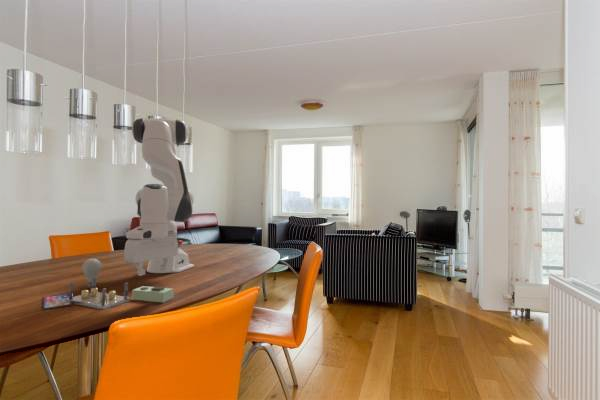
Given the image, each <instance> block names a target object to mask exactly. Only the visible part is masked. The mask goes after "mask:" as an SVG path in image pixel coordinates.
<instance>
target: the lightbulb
mask: <svg viewBox="0 0 600 400" xmlns="http://www.w3.org/2000/svg"><path fill="white" fill-rule="evenodd" d="M81 268H82V269H81V270H82V271H83V273H84V275H85V277H86V282H87V287H88V288H89V289H91V288H92V285H93V278H96V281H97V280H98V276H99V273H100V271H101V270H102V263H101V261H100V260H98V259H97V258H89V259H87V260H85V261H84V262H83V263H82V266H81Z"/></svg>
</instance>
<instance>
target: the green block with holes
mask: <svg viewBox="0 0 600 400" xmlns="http://www.w3.org/2000/svg"><path fill="white" fill-rule="evenodd" d="M174 290H175V289H174V288H170V287H161V286H146V285H145V286H144V285H142V286H140V287H136V288H134V289H132V290H131V301H132V300H133V301H142V300H143V301H145V302H153V303H163V304H164V303H166V302H168V301H170V300H172V299H174Z"/></svg>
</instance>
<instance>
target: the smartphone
mask: <svg viewBox="0 0 600 400" xmlns="http://www.w3.org/2000/svg"><path fill="white" fill-rule="evenodd" d="M68 298H69V293H61V294H55V295H54V294H53V295H47V296H43V297H42V307H41V308H42V311H48V310H56V309H63V308H64V309H65V308H70V307H72V306H73V304H72V302H71V301H66V299H68Z"/></svg>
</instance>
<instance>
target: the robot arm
mask: <svg viewBox="0 0 600 400" xmlns="http://www.w3.org/2000/svg"><path fill="white" fill-rule="evenodd" d="M186 124H187V123H185V121H184V120H181V119H172V118H165V117H161V118H152V117H151V118H144V117H143V118H137V119H135V120H134V121H133V123H132V127H131V134H132V136H133V138H134V140H135V142H137V143H139V144H141V153H142V158H143V160H144V161H145V163H146V164H147V165H149V166H150V173H151V175H152V177H153V178H154V179H155V180H158V181H159V182H161V183H162V184H159V183H149V184H144V185H143V186H142V188H140V189H139V190H138V191H137V192H136V194H135V198H134V199H135V204H136V205H137V210H136V211H137V213H136V214H137V215H138V216H139V217H140V220H139V226H136V227H135V228H134V229H133V228H132V229H131V230H128V231H127V232H126V233H125V237H126V239H127V240H126V242H125V244H124V252H123V253H124V254H123V255H124V256H123V257H124V262H126V263H129V264H134V266H135V268H136V270H137V276H139V277H142V276H145V275H146V272H148V273H150V274H151V273H152V274H167V273H168V274H169V273H181V272H184V271H186V270H188V269H191V268H193V267H195V264H193V263H190V258H189V255H188V253H187V252H185V251H184V250H182V248H180V245H181V246H182V245H183V244H184V241H183V240H178V238H177V237H178V236H177V235H178V225H177V223H185V222H186V221H188V220H189V219H190V218H191V217H192V216H193V211H194V209H193V204H194V201H195V199H194V198H195V197H194V195H193V193H192V191H191V190H190V189H189V187H188V184H187V178H186V174H185V169H184V166H183V162H182V159H181V158H179V157H178V156H177V150H176V145H177V147H179V146H180V145H182V144H184V143H185V142H187V140H188V136H189V130H188V127H187V125H186ZM145 262H148V264H147V265H148V266H147V267H146V268H147V269H144V268H143V265H144V263H145Z"/></svg>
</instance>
